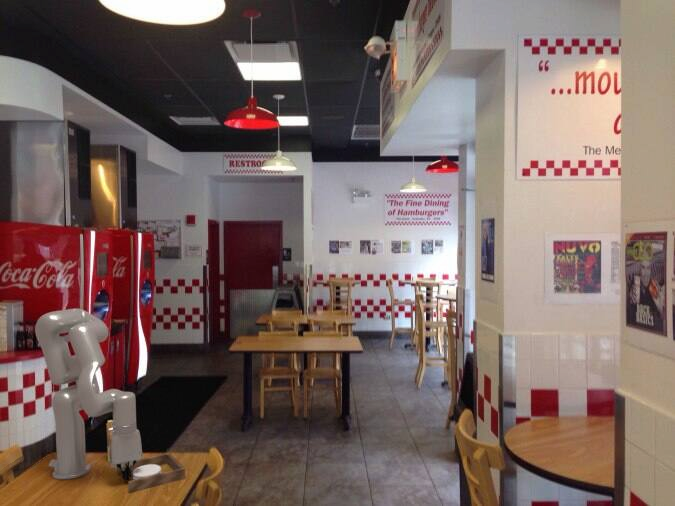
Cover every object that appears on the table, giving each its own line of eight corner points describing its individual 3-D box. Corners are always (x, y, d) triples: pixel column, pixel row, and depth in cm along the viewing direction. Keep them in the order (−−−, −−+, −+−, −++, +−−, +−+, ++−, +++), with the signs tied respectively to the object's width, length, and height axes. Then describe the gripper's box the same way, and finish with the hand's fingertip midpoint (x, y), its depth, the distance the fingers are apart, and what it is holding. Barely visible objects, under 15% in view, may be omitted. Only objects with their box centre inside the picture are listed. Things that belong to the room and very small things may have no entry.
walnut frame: (129, 493, 187) (129, 482, 187) (116, 474, 202) (116, 465, 202) (185, 478, 198) (185, 468, 198) (169, 461, 213) (169, 452, 213)
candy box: (133, 456, 219) (132, 417, 219) (131, 460, 215) (130, 421, 215) (109, 458, 218) (108, 419, 217) (107, 462, 213) (106, 423, 213)
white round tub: (143, 487, 192) (142, 477, 192) (126, 480, 197) (126, 471, 197) (167, 477, 200) (167, 467, 200) (150, 471, 206) (150, 461, 205)
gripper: (104, 435, 188) (106, 489, 188) (149, 426, 196) (151, 478, 196) (100, 429, 194) (101, 481, 194) (143, 421, 202) (145, 471, 203)
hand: (126, 479), depth 195 cm, fingers closed
